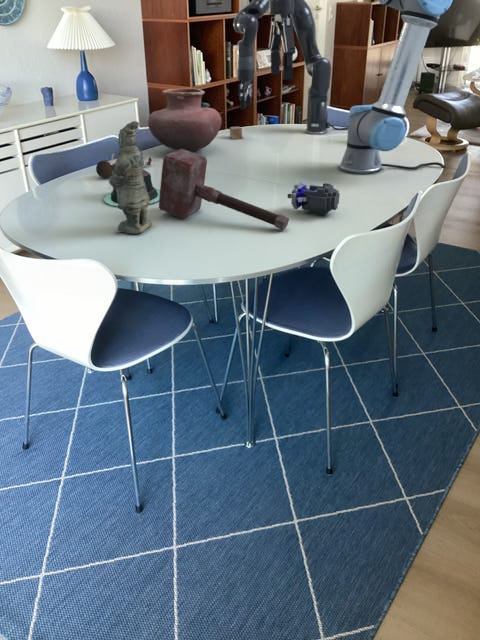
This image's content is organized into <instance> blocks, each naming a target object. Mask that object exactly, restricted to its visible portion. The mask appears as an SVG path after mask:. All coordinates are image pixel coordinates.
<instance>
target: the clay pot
mask: <svg viewBox="0 0 480 640" xmlns="http://www.w3.org/2000/svg"><path fill="white" fill-rule="evenodd" d="M205 92H206V91H204V90H202V89H199V88H193V87H191V88H189V87H187V88H172V89H163V90H162V92H161V93H162V94H163V95H165V97H166V99H167V105H166V107H165V108H163V109H159V110H155V111H153V112H151V113H150V114H149V116H148V117H147V119H148V120H147V127H148V129H149V131H150V133H151V135H152V136H153V137H154V138H155V139H156V140H157V142H159V143H160V144H161V145H163V146H165V147H166V148H169V149H171V150H174V151H177V150H179V149H184V150H187V151H190V152H192V153H194V152H197V151H201V150H202V149H204V148H206V147H207V146H209V145H210V144H211V143H212V142H213V141H214V139H215V138H216V137H217V136H218V133H219V131H220V129H221V127H222V122H223V120H222V116H221V114H220V113H219V112H218V111H217V110H216V109H215V108H212V107H202V99H203V96H204V94H205Z"/></svg>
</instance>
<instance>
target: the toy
mask: <svg viewBox="0 0 480 640" xmlns="http://www.w3.org/2000/svg"><path fill="white" fill-rule="evenodd" d="M293 187H294V188H293V189H292V191H291V193H288V194H287V199H291V200H290V201H291V202H290V203H291V206H292V207H293V210H298V209H299V208H301V210H303V211H306V212H307V214H310V215H311V214H312V215H318V216H326V215H328V213H330V212H331V211H336V210H337V209H338V205H339V204H340V194H341V193H340V190H338V189H337V188H335V187H334V184H332V183H328V182H324V183H322V185H315V184H310V185H309V186H308V187H309V188H308V187H307V185H306V184H305V183H304V181H301V180H299V181H298V182H296V183H295V184H294V186H293Z"/></svg>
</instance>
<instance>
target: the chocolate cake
mask: <svg viewBox="0 0 480 640" xmlns="http://www.w3.org/2000/svg"><path fill="white" fill-rule="evenodd" d="M113 175H114V172H113V173H112V176H113ZM143 178H144V182H145V184H146V188H147V192H148V195H149V197H150V204H154V203H157V202H159V198H160V188H156V187H154V185H153V182H152V174H151V172H149V171H148V170H146V169H144V168H143ZM103 200H104V202H105V203H106V204H108V205H109V206H115V207H118V202H117V192H116V189H115V188H114V187H112V191H111V193H108V194H107V195H106V196H104V198H103ZM150 204H149V205H150Z"/></svg>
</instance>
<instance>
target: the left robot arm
mask: <svg viewBox="0 0 480 640" xmlns="http://www.w3.org/2000/svg"><path fill="white" fill-rule="evenodd" d="M269 1H270V0H251V1H250V3H249V4H247V5H246V6H244V7H243V8H242V9H241V10H239V12H237V14H236V15H235V17H234V18H233V23H232V26H233V29H234V31H235V32H236V33H238V34H243V37H242V39H241V40H238V41H237V44H236V45H237V46H236V49H237V50H236V79H237V81H240V83H239V84H238V100H239V101H240V110H241V111H244V110H246V109H247V107H251V106H252V96H253V94H254V93H253V81H254V80H255V42H256V39H257V35H258V29H259V21H258V19H261V18H262V17H263V16H264V15H265V14H266V13H267V12H268V11H269ZM293 1H294V13H292V14H289V16H290V18H292V27H293V30H294V32H295V35H296V37H297V40H298V43H299V45H300V48H301V51H302V55H303V59H304V64H305V69H306V71H307V74H308V75H309V77H311V84H310V86H309V87H308V90H307V107H306V108H307V109H306V110H307V111H306V130H305V131H306V133H307V134H311V135H321V134H325V133H326V132H327V131H328V129H331V128H332V129H333V130H335V131H345V130H348V126H347V127H341V128H340V127H335V126H334V125H333V124H331V122H330V121H328V113H329V112H328V97H329V96H328V95H329V89H330V87H331V78H332V77H331V76H332V64H331V61H330V60H329V59H328V58H326V57H323V56H322V55H321V53H320V49H319V47H318V43H317V27H316V22H315V18H314V15H313V12H312V9H311V7H310V6H309V4H308V2H307V1H306V0H293Z"/></svg>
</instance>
